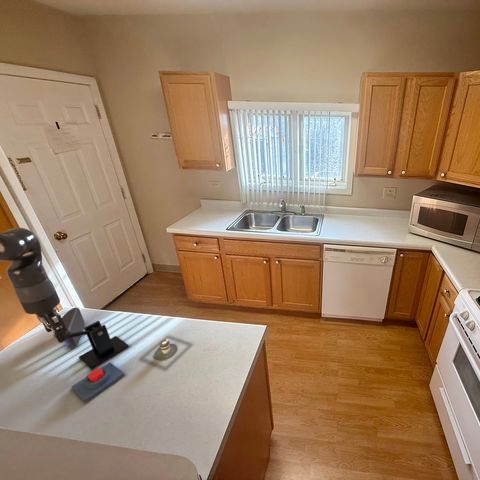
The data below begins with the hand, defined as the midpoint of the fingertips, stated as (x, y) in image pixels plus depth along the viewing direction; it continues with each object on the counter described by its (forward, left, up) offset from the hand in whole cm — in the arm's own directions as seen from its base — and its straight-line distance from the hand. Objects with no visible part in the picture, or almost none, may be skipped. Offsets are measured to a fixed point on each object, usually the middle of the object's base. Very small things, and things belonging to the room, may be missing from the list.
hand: (57, 335), depth 82 cm
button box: (+2, -12, -16) cm, 20 cm away
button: (+2, -12, -14) cm, 18 cm away
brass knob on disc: (+21, -19, -17) cm, 33 cm away
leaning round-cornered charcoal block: (+8, +18, -17) cm, 26 cm away
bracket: (+9, 0, -16) cm, 19 cm away
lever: (+4, 0, -4) cm, 6 cm away
